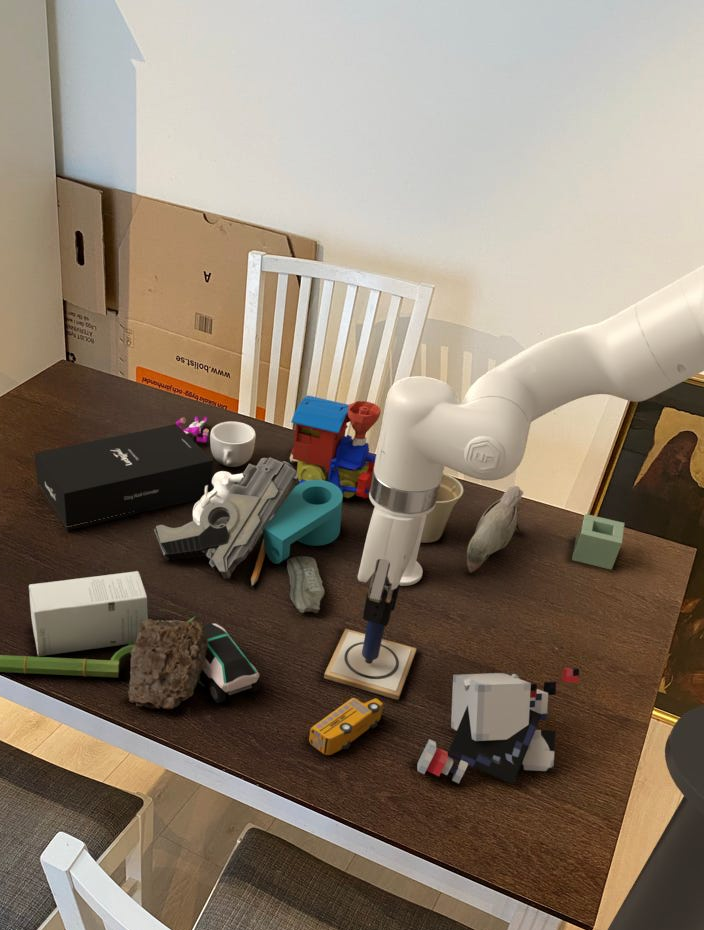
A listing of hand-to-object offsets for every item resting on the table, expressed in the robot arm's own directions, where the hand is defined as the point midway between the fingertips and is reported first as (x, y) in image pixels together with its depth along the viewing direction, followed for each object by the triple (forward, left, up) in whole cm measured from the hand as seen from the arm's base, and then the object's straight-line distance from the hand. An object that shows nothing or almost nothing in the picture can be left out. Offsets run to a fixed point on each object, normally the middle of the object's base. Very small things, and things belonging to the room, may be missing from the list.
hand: (378, 613), depth 117 cm
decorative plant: (+48, +20, -7) cm, 52 cm away
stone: (+10, -14, -9) cm, 20 cm away
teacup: (+35, -41, -10) cm, 55 cm away
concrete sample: (+22, +15, -4) cm, 27 cm away
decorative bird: (-10, -35, -10) cm, 38 cm away
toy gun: (+35, -20, -3) cm, 41 cm away
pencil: (+23, -29, -9) cm, 38 cm away
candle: (+1, -23, -10) cm, 25 cm away
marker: (0, 0, -8) cm, 8 cm away
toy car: (+18, +9, -10) cm, 22 cm away
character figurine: (+45, -46, -10) cm, 65 cm away
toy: (-11, +7, -4) cm, 13 cm away
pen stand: (-26, -41, -10) cm, 49 cm away
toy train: (+16, -42, -10) cm, 46 cm away
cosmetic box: (+30, +4, -6) cm, 31 cm away
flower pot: (0, -35, -10) cm, 36 cm away
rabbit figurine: (+30, -23, -10) cm, 39 cm away
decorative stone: (+23, -51, -9) cm, 57 cm away
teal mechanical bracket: (+14, -23, -7) cm, 27 cm away
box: (+48, -25, -10) cm, 55 cm away
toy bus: (-2, +13, -8) cm, 15 cm away
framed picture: (0, -1, -10) cm, 10 cm away
